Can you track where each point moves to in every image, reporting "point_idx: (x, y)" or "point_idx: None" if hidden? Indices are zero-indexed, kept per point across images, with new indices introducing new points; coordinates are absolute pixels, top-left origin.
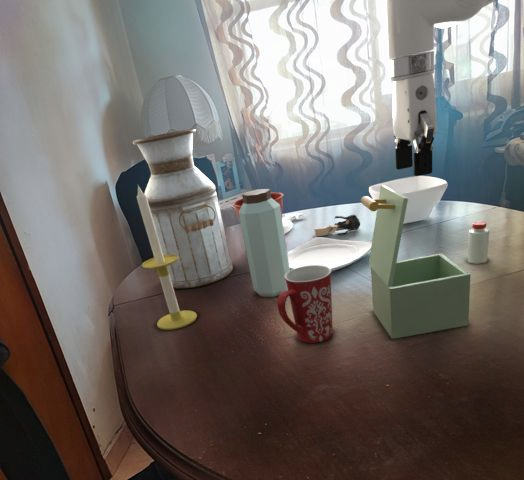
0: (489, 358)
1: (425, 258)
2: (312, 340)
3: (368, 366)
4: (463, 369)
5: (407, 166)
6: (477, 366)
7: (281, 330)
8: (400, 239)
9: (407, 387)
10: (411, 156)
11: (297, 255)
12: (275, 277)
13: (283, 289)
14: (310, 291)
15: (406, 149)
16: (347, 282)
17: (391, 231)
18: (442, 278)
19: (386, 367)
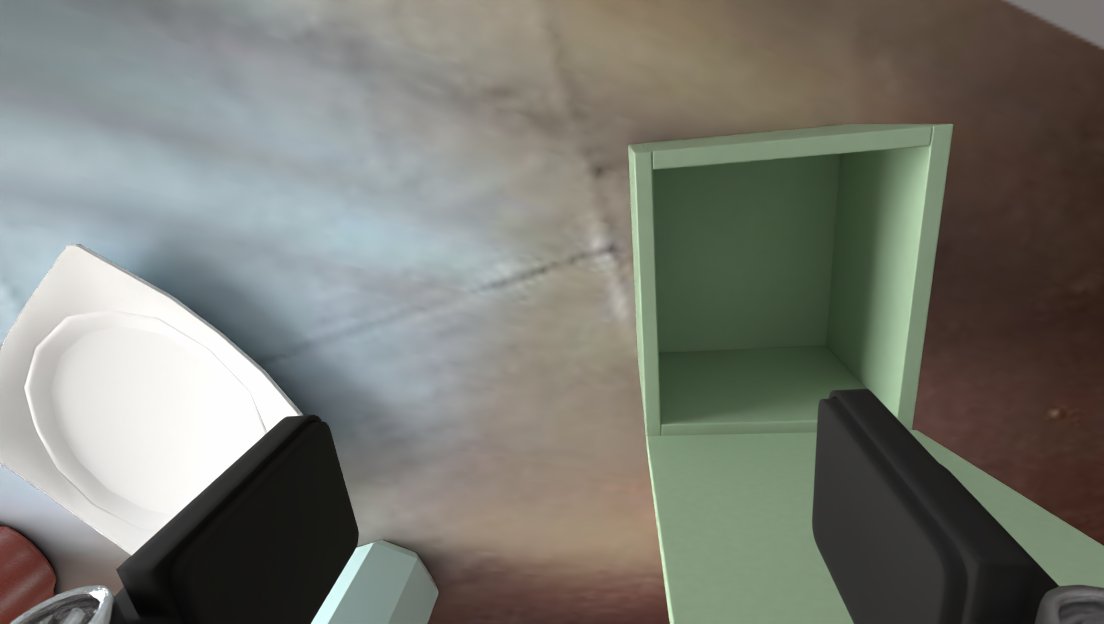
0: (1070, 138)
1: (654, 230)
2: None
3: (945, 433)
4: (1085, 225)
5: (336, 465)
6: (1092, 185)
7: (659, 582)
8: (1055, 516)
9: (1089, 374)
10: (269, 484)
11: (119, 498)
12: (416, 620)
13: (421, 568)
14: None
15: (226, 609)
16: (386, 385)
17: None
18: (925, 241)
19: (972, 396)
